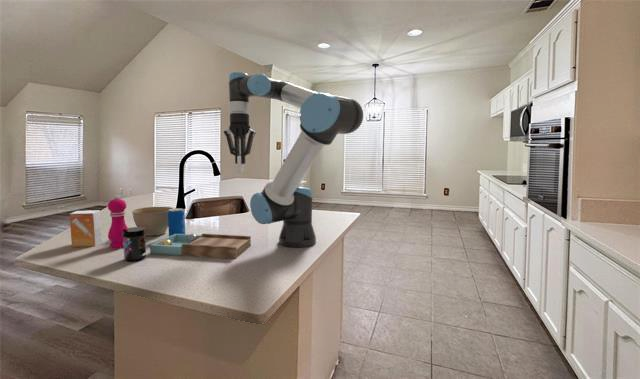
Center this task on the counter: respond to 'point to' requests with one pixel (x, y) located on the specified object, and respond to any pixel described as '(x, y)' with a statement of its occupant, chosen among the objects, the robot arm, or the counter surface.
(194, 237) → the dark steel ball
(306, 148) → the robot arm
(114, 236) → the pink tall rounded piece
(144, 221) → the planter bowl
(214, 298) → the counter surface
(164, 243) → the brass ball
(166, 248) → the tray
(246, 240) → the walnut runway
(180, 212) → the beverage can
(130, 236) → the supplement container
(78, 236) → the small box
